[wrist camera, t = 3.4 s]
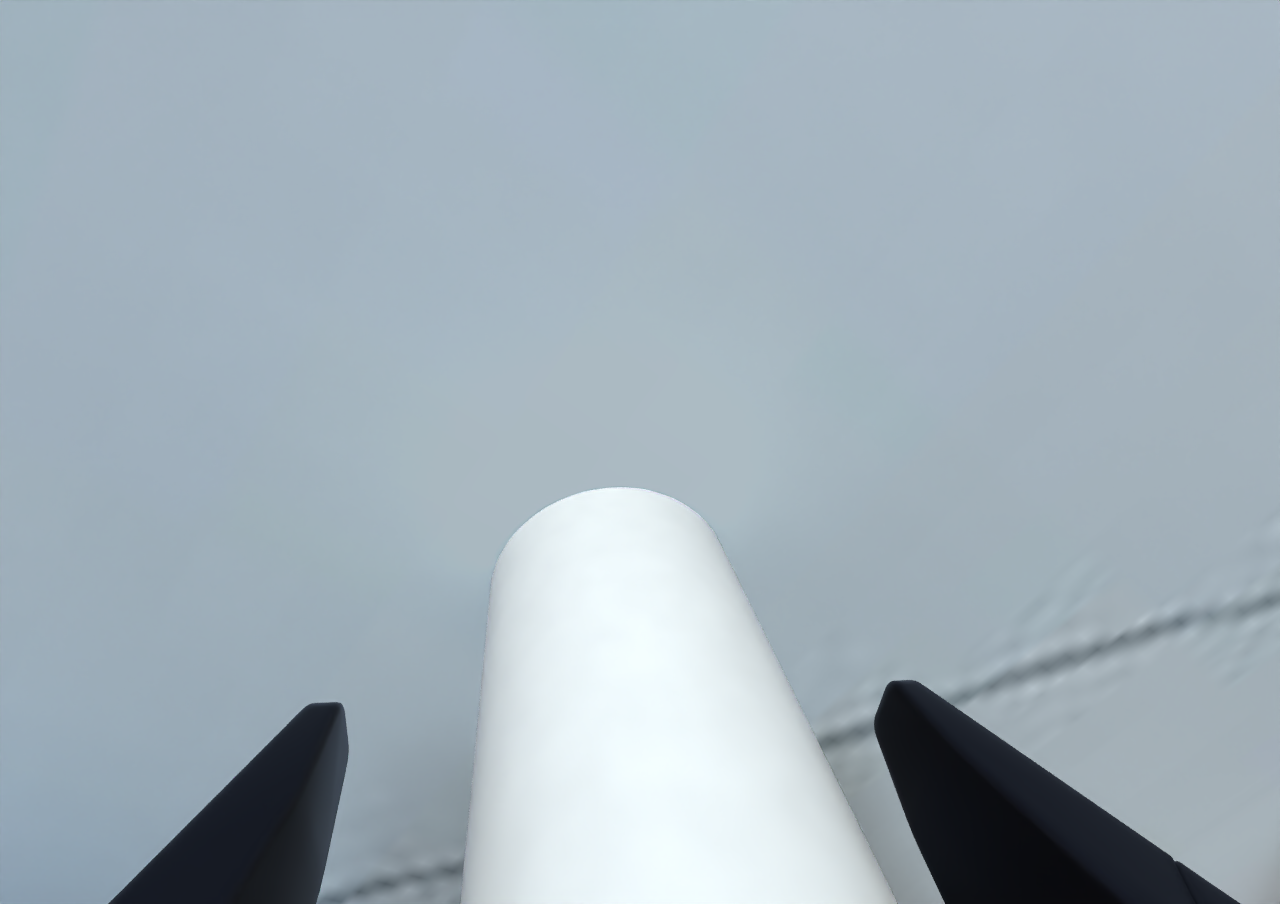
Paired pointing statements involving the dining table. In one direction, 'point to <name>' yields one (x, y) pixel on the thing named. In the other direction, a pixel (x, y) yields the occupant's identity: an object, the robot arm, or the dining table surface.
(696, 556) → the bottle
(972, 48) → the dining table surface
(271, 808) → the robot arm
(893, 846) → the dining table surface
